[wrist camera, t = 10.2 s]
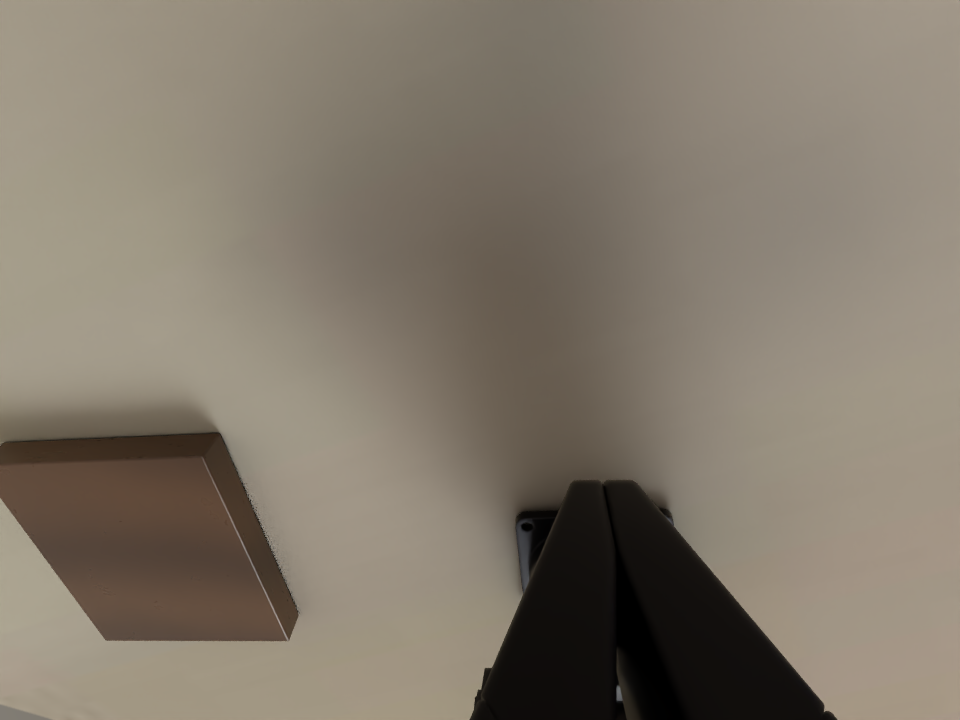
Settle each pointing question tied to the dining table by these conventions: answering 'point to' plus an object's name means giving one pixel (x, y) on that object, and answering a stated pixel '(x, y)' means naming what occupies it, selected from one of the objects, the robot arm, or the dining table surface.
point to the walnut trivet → (150, 536)
